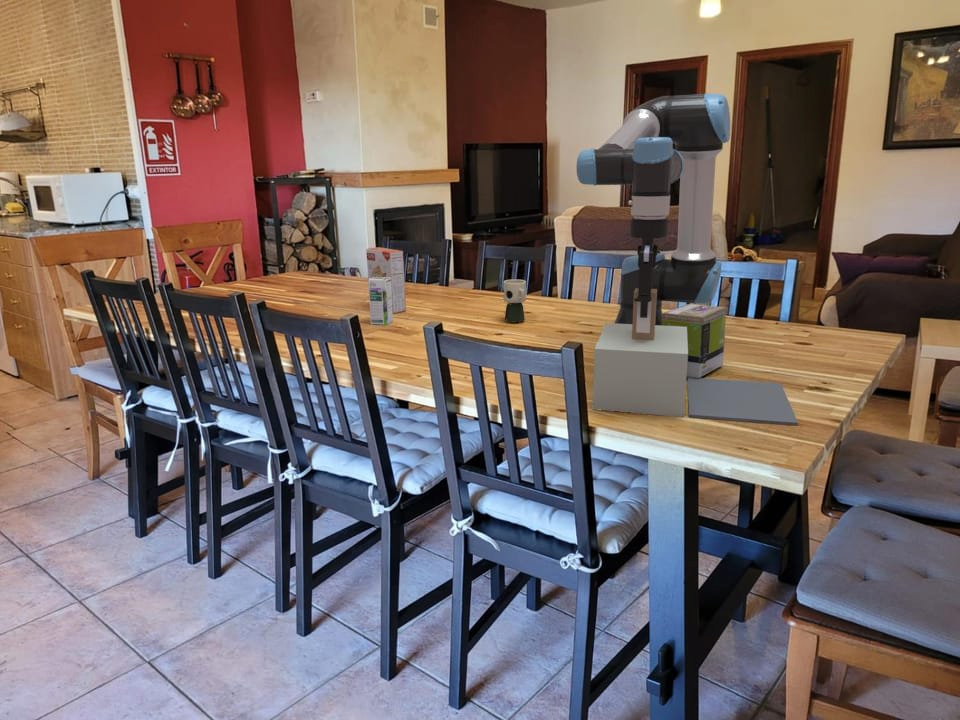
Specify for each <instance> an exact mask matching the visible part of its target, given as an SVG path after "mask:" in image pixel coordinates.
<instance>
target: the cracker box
mask: <svg viewBox="0 0 960 720" xmlns="http://www.w3.org/2000/svg"><path fill="white" fill-rule="evenodd" d="M365 251H366V264H367V265H366V266H367V279H370V278H372V277H391V290H392V311H393V315H395V314H397V313H398V314H399V313H403V312H406V311H407V304H406V303H407V301H406V286H405V263H404V251H403V250H399V249H391V248H385V247H382V246H381V247H379V246H378V247H370V248H366V249H365Z"/></svg>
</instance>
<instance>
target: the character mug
mask: <svg viewBox="0 0 960 720" xmlns="http://www.w3.org/2000/svg"><path fill="white" fill-rule="evenodd" d="M502 283H503V286H502V287H503V288H502V289H503V297H502V299H503V302H504V303H507V304H506V305H505V312H504V313H505V314H504V321H506V322H507V323H516V324H518V323H519V322H522V321H525V311H524V310H525V309H524V306H523V303H524V302H525V301H526V300H527V280H524V279H506V280H503V282H502Z"/></svg>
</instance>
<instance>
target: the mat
mask: <svg viewBox="0 0 960 720" xmlns="http://www.w3.org/2000/svg"><path fill="white" fill-rule="evenodd" d="M687 400H688V401H687V403H688V405H687V406H688V418H691V419H692V418H693V419H694V418H695V419H703V420H705V419H706V420H707V419H708V420H716V421H718V420H719V421H731V422H733V421H734V422H742V423H743V422H746V423H755V424H756V423H759V424H771V425H772V424H773V425H781V426H782V425H783V426H794V427H795V426H796V427H797V426H799V421H798V419H797V417H796V415H795V412H794V411H793V407H792V406H791V404H790V401H789V399H788V397H787V395H786V392H785V390H784V387H783V385H782V383H780V382H770V381H768V382H767V381H756V380H755V381H751V380H739V379H720V378H705V377H700V378H693V377H687Z"/></svg>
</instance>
